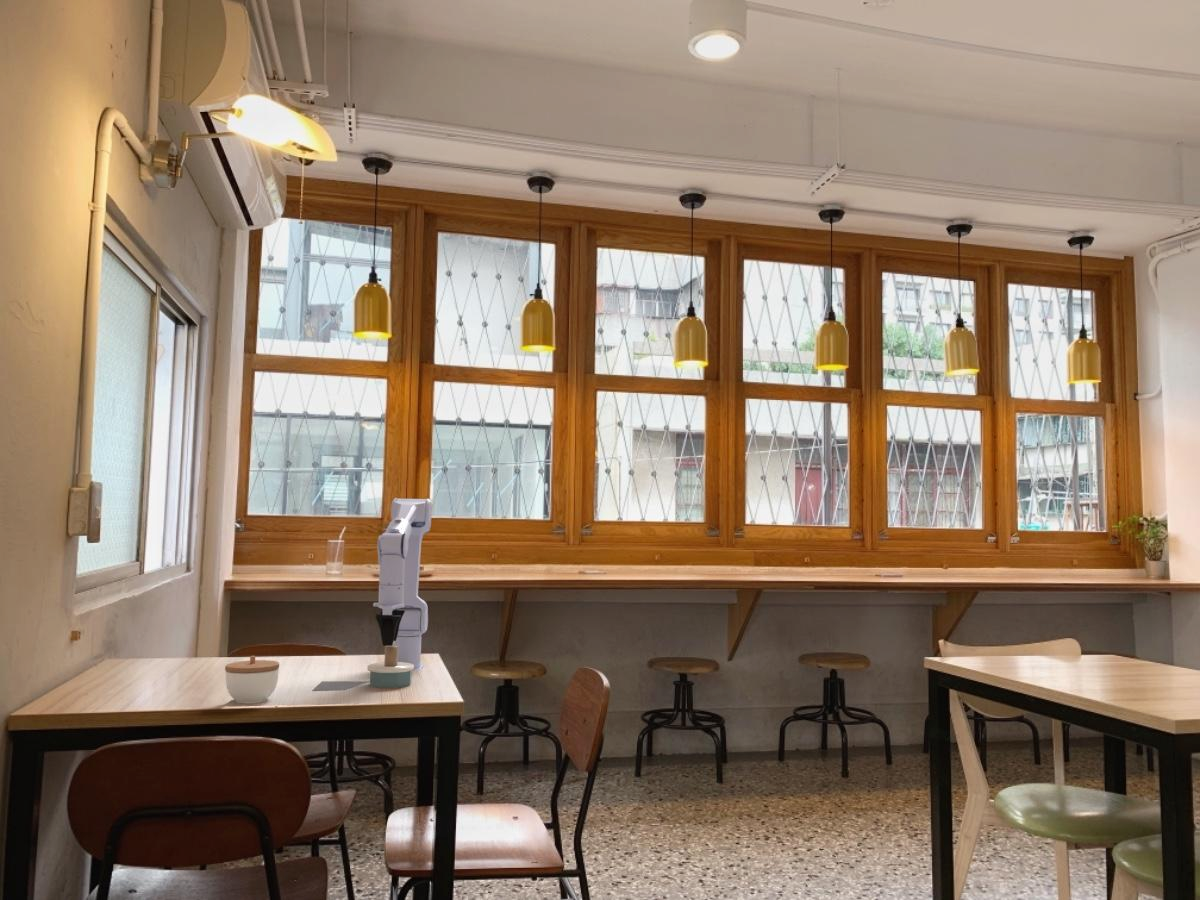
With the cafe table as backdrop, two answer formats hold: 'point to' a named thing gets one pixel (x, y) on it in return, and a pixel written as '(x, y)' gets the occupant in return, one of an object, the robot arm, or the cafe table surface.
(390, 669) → the lid
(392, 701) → the cafe table surface
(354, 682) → the mat
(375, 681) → the bowl
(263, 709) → the cafe table surface
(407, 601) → the robot arm
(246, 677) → the lidded jar
